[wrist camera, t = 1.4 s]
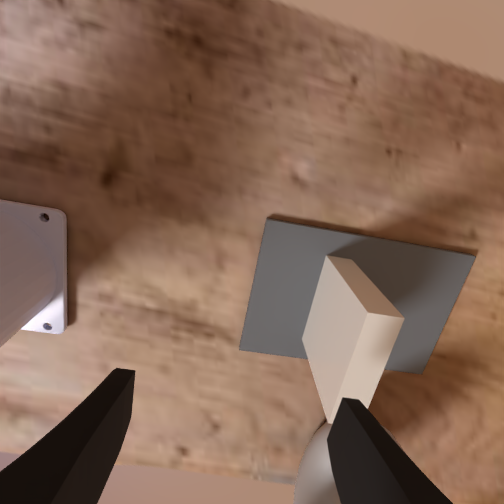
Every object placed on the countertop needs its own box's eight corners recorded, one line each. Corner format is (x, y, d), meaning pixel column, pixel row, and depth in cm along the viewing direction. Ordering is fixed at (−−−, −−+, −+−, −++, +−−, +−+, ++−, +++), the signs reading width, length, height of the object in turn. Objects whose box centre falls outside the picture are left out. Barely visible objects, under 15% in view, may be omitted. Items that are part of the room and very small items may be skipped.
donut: (345, 374, 23) (420, 544, 13) (384, 391, 23) (481, 564, 14) (275, 464, 26) (297, 656, 16) (312, 477, 26) (352, 668, 17)
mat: (239, 346, 21) (239, 350, 21) (266, 217, 18) (267, 219, 18) (418, 370, 23) (421, 374, 22) (471, 254, 20) (476, 256, 19)
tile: (301, 339, 21) (328, 423, 15) (326, 255, 19) (367, 312, 13) (325, 342, 21) (360, 427, 15) (351, 259, 19) (405, 318, 13)
